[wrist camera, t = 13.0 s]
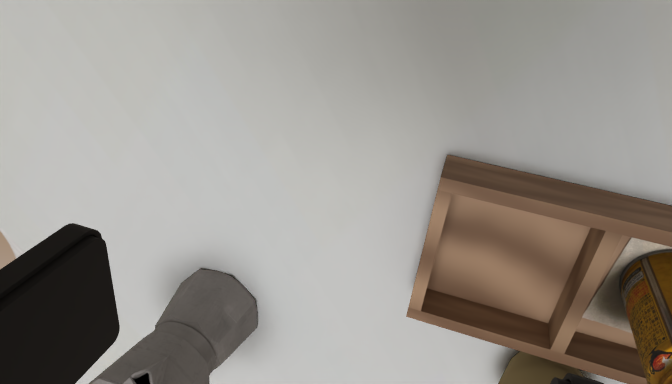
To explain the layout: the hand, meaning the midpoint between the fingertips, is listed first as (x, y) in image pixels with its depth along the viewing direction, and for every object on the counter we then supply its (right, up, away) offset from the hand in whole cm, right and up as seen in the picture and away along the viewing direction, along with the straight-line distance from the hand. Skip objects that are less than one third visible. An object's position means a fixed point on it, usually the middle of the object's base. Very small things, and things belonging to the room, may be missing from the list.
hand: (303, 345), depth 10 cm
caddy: (+19, -2, +28) cm, 34 cm away
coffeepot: (-12, -9, +43) cm, 46 cm away
